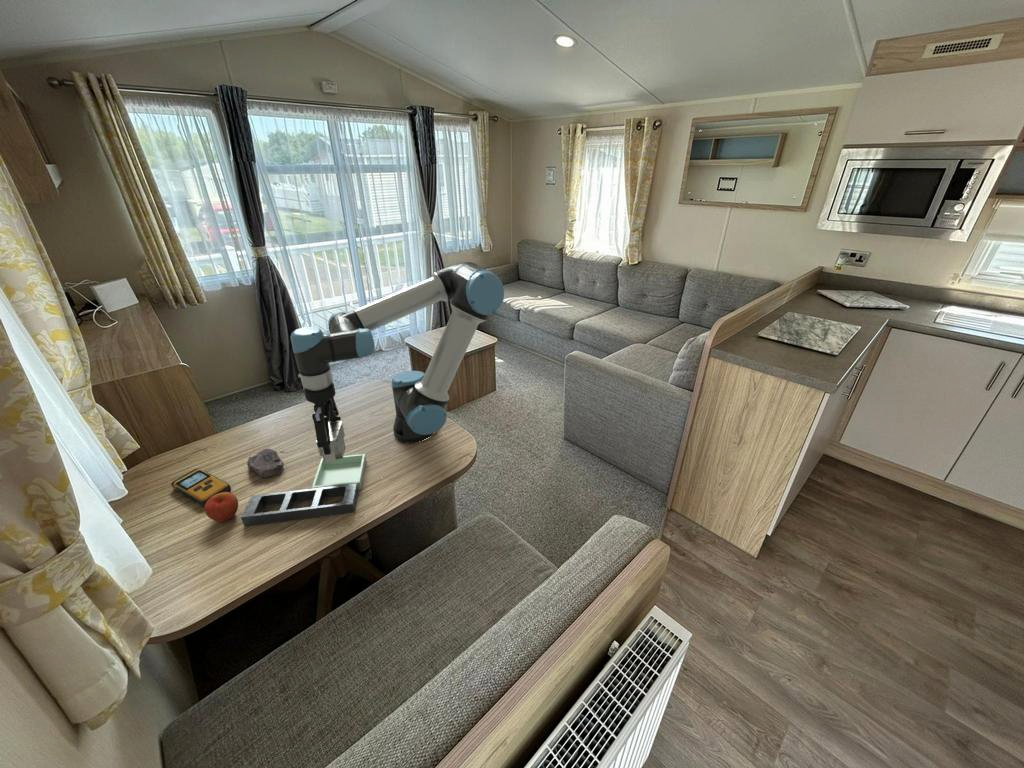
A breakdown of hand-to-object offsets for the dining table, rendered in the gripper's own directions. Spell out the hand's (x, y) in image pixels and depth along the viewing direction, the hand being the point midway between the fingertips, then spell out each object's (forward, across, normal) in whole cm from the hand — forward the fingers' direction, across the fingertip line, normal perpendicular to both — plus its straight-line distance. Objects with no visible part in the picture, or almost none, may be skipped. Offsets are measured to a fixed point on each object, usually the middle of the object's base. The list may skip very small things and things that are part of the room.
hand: (334, 450), depth 118 cm
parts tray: (+11, 0, 0) cm, 11 cm away
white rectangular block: (+2, 0, 0) cm, 2 cm away
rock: (+11, -8, -24) cm, 28 cm away
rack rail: (+11, +11, -8) cm, 18 cm away
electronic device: (+12, -1, -39) cm, 40 cm away
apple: (+11, +11, -28) cm, 32 cm away
